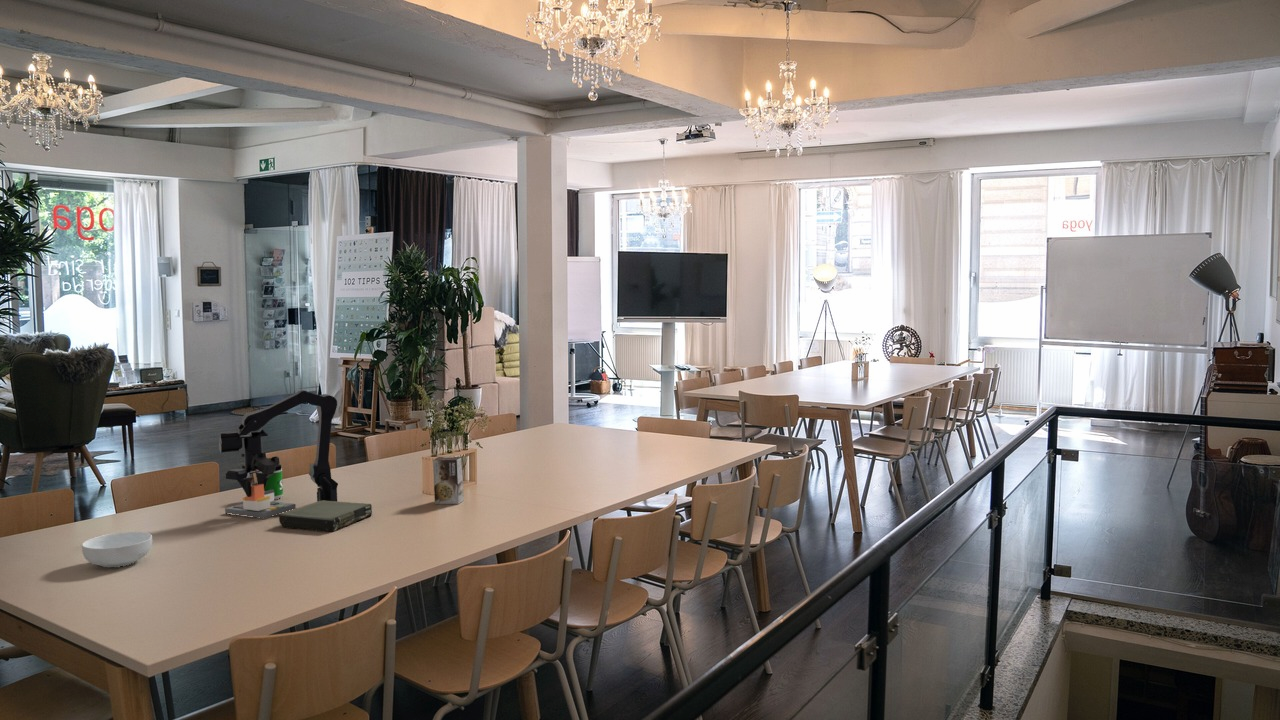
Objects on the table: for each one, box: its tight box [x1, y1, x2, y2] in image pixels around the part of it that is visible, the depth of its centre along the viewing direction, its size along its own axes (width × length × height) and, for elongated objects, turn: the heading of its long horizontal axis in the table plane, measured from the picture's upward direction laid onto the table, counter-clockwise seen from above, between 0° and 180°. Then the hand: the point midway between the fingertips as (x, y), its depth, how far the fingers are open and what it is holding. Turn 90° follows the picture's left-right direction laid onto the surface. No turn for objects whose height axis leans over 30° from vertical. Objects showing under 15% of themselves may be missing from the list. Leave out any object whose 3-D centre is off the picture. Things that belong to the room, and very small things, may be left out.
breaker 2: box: [264, 490, 275, 502], centre depth 308 cm, size 7×5×4 cm
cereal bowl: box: [81, 531, 153, 568], centre depth 244 cm, size 17×17×7 cm
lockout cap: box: [245, 482, 264, 501], centre depth 298 cm, size 4×4×6 cm
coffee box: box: [432, 456, 464, 505], centre depth 313 cm, size 9×6×16 cm
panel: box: [224, 500, 296, 519], centre depth 303 cm, size 18×14×2 cm
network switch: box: [278, 500, 373, 533], centre depth 287 cm, size 23×24×5 cm
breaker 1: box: [242, 496, 270, 511], centre depth 298 cm, size 7×5×4 cm
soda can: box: [264, 467, 284, 500], centre depth 322 cm, size 8×8×12 cm
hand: (255, 495), depth 298 cm, fingers open, 5 cm apart
